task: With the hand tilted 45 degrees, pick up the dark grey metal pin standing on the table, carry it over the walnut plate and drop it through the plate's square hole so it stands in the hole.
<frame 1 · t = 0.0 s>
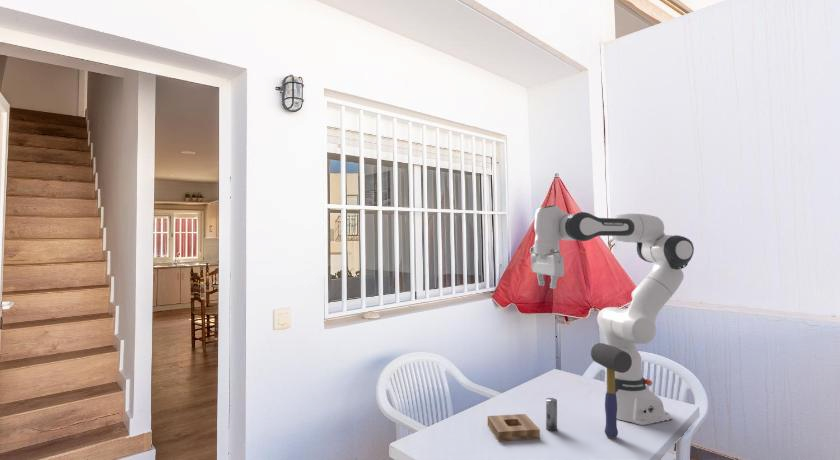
hand: (547, 286, 150), 48 cm above the table, tool pointing down, fingers open, 8 cm apart
hole plate: (512, 431, 138), on the table
rubber mallet: (611, 437, 135), on the table
pin: (551, 429, 140), on the table
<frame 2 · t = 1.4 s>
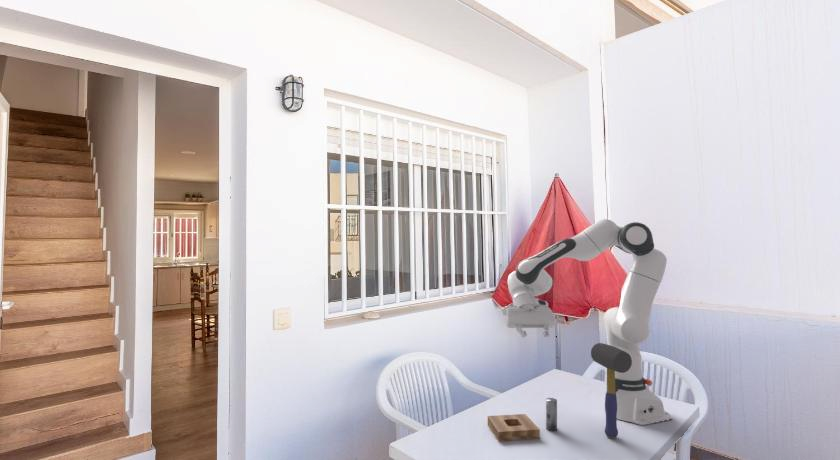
hand: (535, 336, 156), 28 cm above the table, tool tilted 45°, fingers open, 8 cm apart
nothing on the table moved.
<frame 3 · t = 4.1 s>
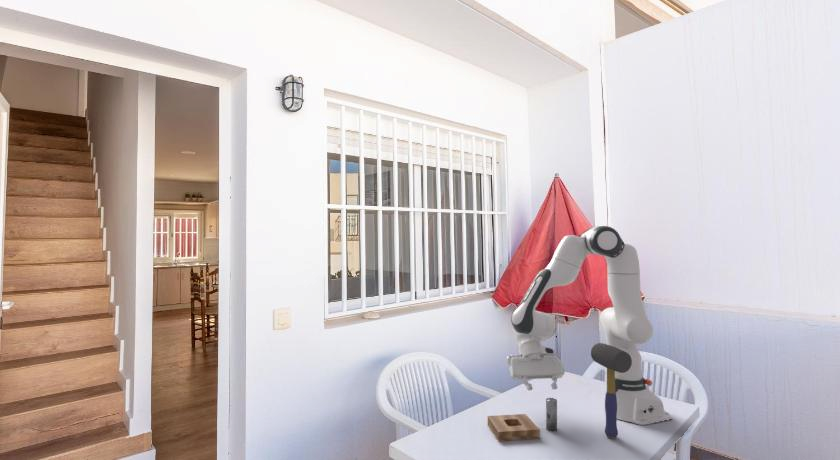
hand: (542, 389, 147), 11 cm above the table, tool tilted 45°, fingers open, 8 cm apart
nothing on the table moved.
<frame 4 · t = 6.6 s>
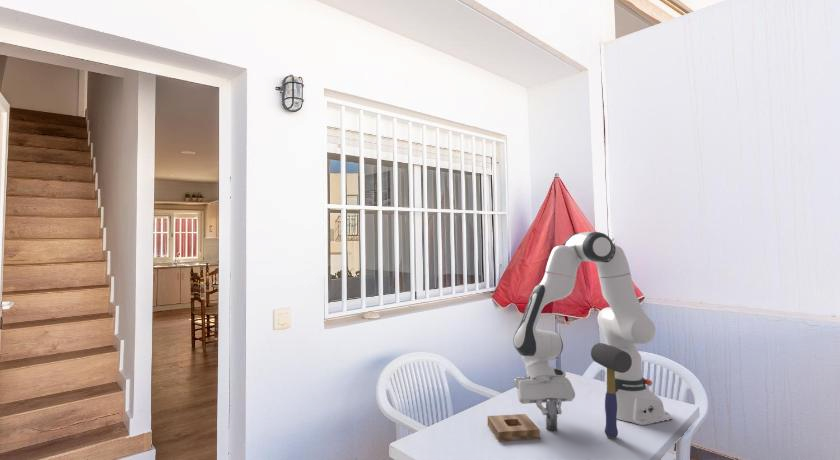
hand: (552, 414, 140), 5 cm above the table, tool tilted 45°, fingers closed on pin, 4 cm apart
pin: (551, 429, 140), on the table, touching gripper
everything else where it was.
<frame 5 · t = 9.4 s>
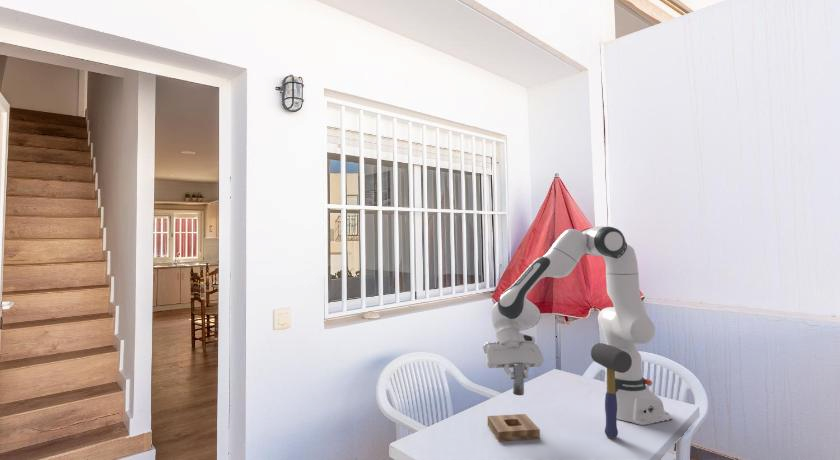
hand: (519, 378, 139), 18 cm above the table, tool tilted 45°, fingers closed on pin, 4 cm apart
pin: (518, 393, 139), point 13 cm above the table, touching gripper
everything else where it was.
when the fingers open (9 cm above the table, at t = 12.1 s): pin drops 3 cm, resting in hole plate.
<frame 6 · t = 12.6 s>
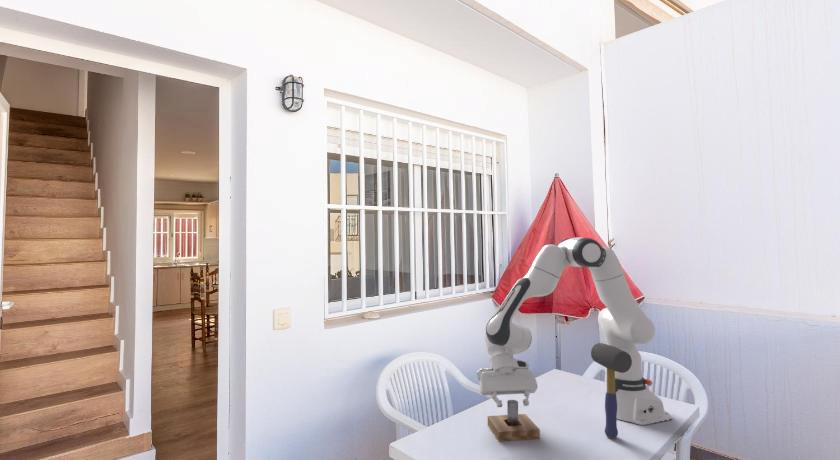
hand: (513, 405, 138), 9 cm above the table, tool tilted 45°, fingers open, 8 cm apart
pin: (512, 431, 138), resting in hole plate
everything else where it was.
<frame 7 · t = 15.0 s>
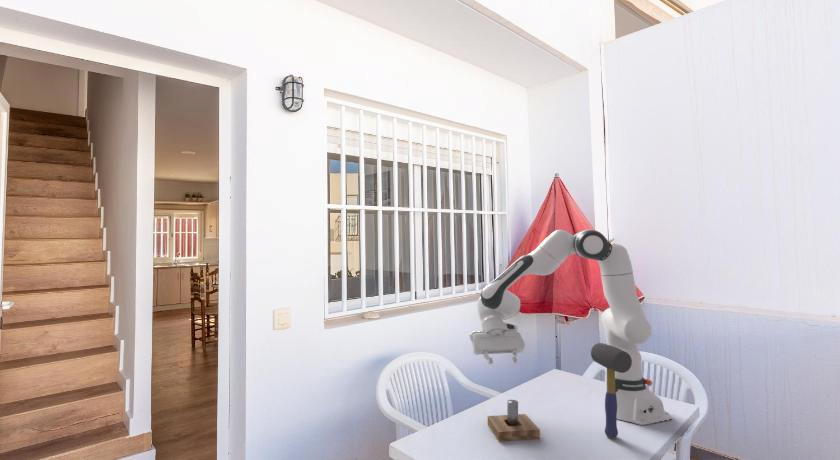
hand: (502, 362, 152), 19 cm above the table, tool tilted 45°, fingers open, 8 cm apart
nothing on the table moved.
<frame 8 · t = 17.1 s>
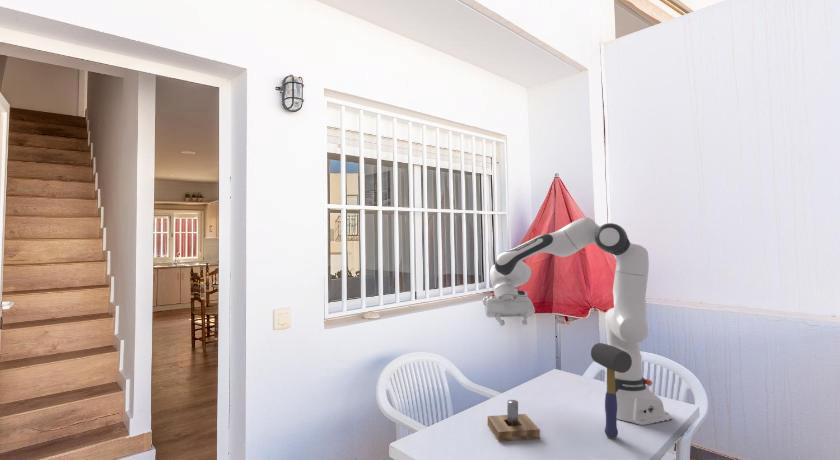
hand: (514, 324, 163), 31 cm above the table, tool tilted 45°, fingers open, 8 cm apart
nothing on the table moved.
at the end: pin 0.0 cm from the hole plate (horizontally); pin resting in hole plate; pin tilted 0° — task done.
